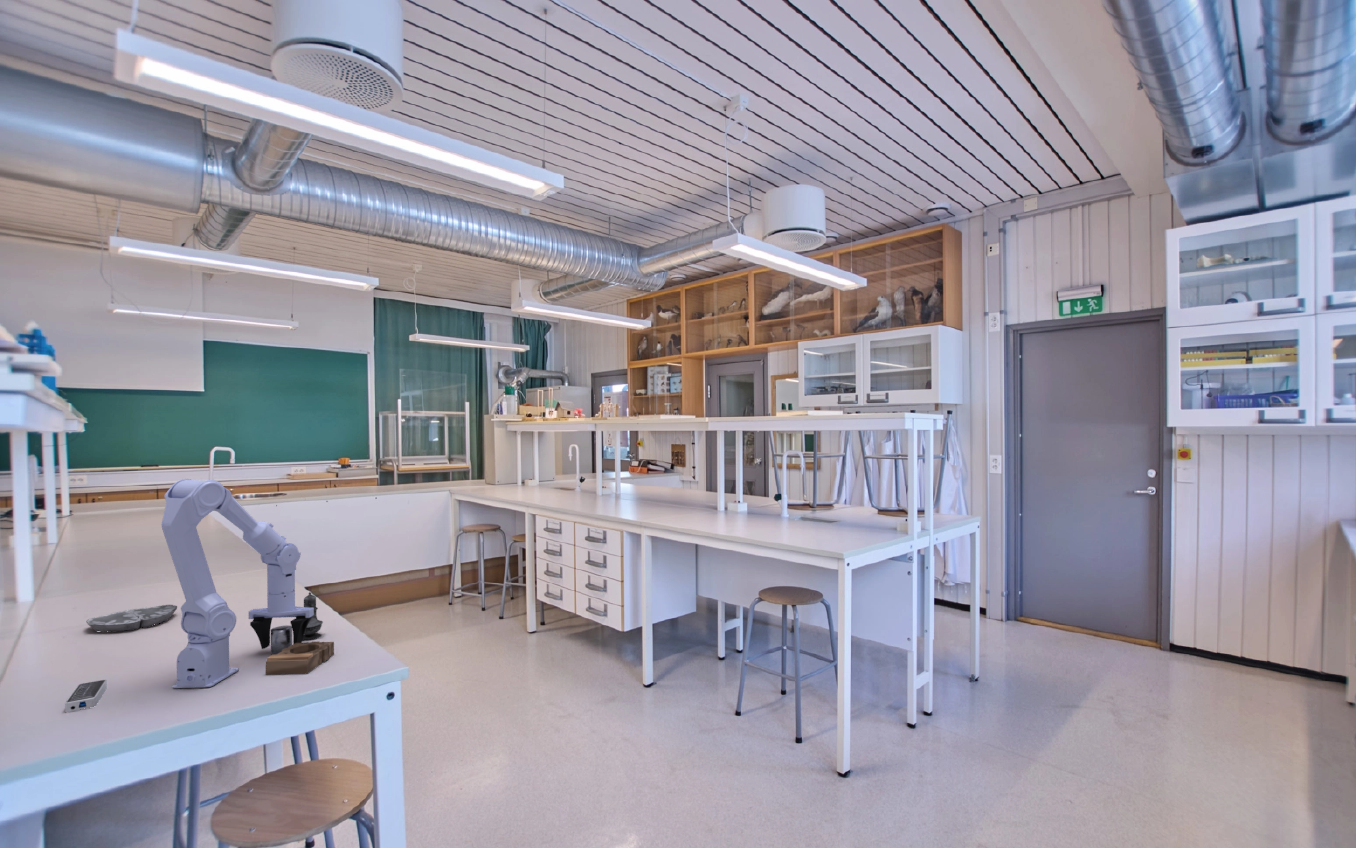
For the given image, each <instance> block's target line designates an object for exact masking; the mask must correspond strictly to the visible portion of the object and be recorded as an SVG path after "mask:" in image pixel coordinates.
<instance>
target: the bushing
mask: <svg viewBox="0 0 1356 848" xmlns="http://www.w3.org/2000/svg"><path fill="white" fill-rule="evenodd" d="M291 645H293V630H292V626H291V625H287V624H285V625H280V626H279V625H278V626H275V627H273V628H270V656H271V655H277V654H278V653H280V652H281V650H283V649H285V648H288V647H289V646H291Z"/></svg>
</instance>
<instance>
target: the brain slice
mask: <svg viewBox="0 0 1356 848" xmlns="http://www.w3.org/2000/svg"><path fill="white" fill-rule="evenodd" d="M177 610H178V605H174V604H163V605H158V606H157V605H156V606H150V607H141V608H132V609H128V610H126V609H125V610H121V611H115V612H113V613H109V614H105V615H99V616H96V617H90V618H89V619H87V620H86V624H87V625H88V626H89V627H90V628H92V629H93V630H94V631H95V632H96V631H101V632H107V631H119V632H123V631H122V630H131V631H134V630H133V629H136V630H139V629H141V627H147V628H150V627H149V626H151V627H153V626H152V625H154V624H158V623H160V624H161V623H164V622H163V621H165V622H167V621H168V620H169V619H170V618H171V617H172V615H173V614H174V613H175V612H176V611H177ZM167 619H168V620H167ZM158 625H159V624H158ZM154 626H155V625H154ZM138 628H139V629H138ZM101 632H100V633H101ZM107 633H108V632H107Z"/></svg>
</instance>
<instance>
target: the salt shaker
mask: <svg viewBox="0 0 1356 848" xmlns="http://www.w3.org/2000/svg"><path fill="white" fill-rule="evenodd" d="M303 607H307V608H314V615H313V616H312V618H311V620H310V621H309V623H308V625H307V627H306V630H305V633H304V636H303V639H302V642H303V641H304V642H309V641H314V640H318V639H320V638H321V637H322V634H321V633H320V632H319V631H321V628H322V625H323V623H324V621H322V620H319V619H318V616H317V610H318V607H317V597H316V596H315V595H313V594H312V592H311V591H309V592H308V594H307V595H305V596H304V598H303ZM319 637H320V638H319ZM317 638H318V639H317Z"/></svg>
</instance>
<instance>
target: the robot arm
mask: <svg viewBox="0 0 1356 848" xmlns="http://www.w3.org/2000/svg"><path fill="white" fill-rule="evenodd" d="M163 496H164V500H165V507H164V512H163V516H162V520H161V528H162V532H163V535H164V539H165V542H166V544H167V547H168V550H169V553H170V557H171V559H172V562H173V565H174V566H173V567H174V570H175V571H176V574H177V577H178V578H177V579H178V581H179V584H180V587H181V590H182V593H183V595H184V599H185V602H184V603H183V604H182V605H181V607H180V611H181V619H180V627H181V629H182V631H183V632H185V633H186V634H187V639H188V641H187V644H186V647H184V648H183V649H182V650H181V651H180V652H179V654H178V655H177V657H176V683H175V684H173V685H172V689H190V688H192V689H193V688H194V689H197V688H198V689H199V688H211V687H213V686H215V685H216V684H218V683H220V682H221V681H223V680H225V679H226V678H228V677H230V676H231V675H234V673H236V672H238V671H239V667H230V636H231V633H232V632H233V631H234V629H235V627H236V624H237V615H236V613H235V612H234V611H233V610H232V609H231V608H229V605H228V603H227V600H225V599H224V598H223V597H222V596H221V595H220V594H219V593H218V592H217V589H216V586H215V582H214V580H213V576H212V573H211V571H210V567H209V565H208V564H209V563H208V561H207V557H206V554H205V552H204V548H203V545H202V543H201V539H200V536H199V532H198V530H197V529H198V528H197V527H198V525H199V524H200V523H201V521H202V520H203V519H204V518H206V517H207V516H208V515H209V514H211V513H212V512H213V511H214V512H217V513H219V514H220V515H221V516H222V517H224V518H225V519H226V520H228V521H229V522H230V523H231V524H232V525H234V526H235V527H236V528H238V529H239V530H240V531H242V533H243V534H242V539H243V541H244V542H245V543H247V544H248V545H249V546H250V547H251V548H252V549H254V551H255V552H257V553H258V554H259V555H260V560H261V562H262V563H264V564H266V572H267V573H266V574H267V575H266V577H267V578H266V581H267V584H266V585H267V588H266V589H267V591H266V592H267V595H266V597H267V599H266V600H267V605H266V606H267V607H265V608H263V607H262V608H253V609H251V610H249V611H248V620H251V621H250V624H249V626H250V627H251V628H252V629H253V631H254V633H255V634H256V635H257V638H258V640H259V644H260V647H261V649H262V650H263V649H264V650H265V649H267V648H269V647H271V629H272V628H271V626H272V620H273V619H274V618H294V619H292V620H290V626H292V645H293V644H295V643H303V641H302V639H303V636H304V633H305V630H306V627H307V625H308V623H309V621H310V620H311V618H312V616H313V615H314V608H307V607H304V606H296V586H295V585H296V573H295V571H297V564H298V562H299V561H300V558H301V556H302V555H301V553H302V552H300V551H299V549H298V547H297V545H296V544H295V543H289V542H287V541H286V539H287V538H286V537H285V536H283V535H280V534H279V532H277V531H276V530H275V529H274V528H273V527H274V524H272V522H266V521H263V520H262V521H257V520H256V519H255V518H254V517H253V516H252V515H251V514H250V513H249V512H248V511H247V510H246V508H244V507H243V506H242V505H241V504H240V502H238V501H237V499H236V498H235V497H234V496H233V495H232V492H231V490H229V489H228V488H226V487H224V486H223V484H222V483H221V482H219V481H217V480H215V479H207V480H206V479H205V480H202V479H201V480H199V479H189V478H185V479H183V478H182V479H179V480H177V481H176V482H174V483H172V485H171V486H170V487H169V489H168V490H167V492H165V494H164V495H163Z"/></svg>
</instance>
